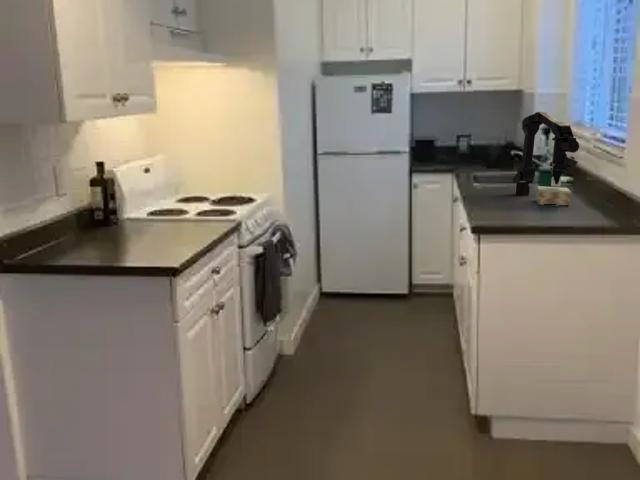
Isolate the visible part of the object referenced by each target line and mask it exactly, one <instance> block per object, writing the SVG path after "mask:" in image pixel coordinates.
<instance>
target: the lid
mask: <svg viewBox="0 0 640 480" xmlns="http://www.w3.org/2000/svg"><path fill="white" fill-rule="evenodd" d="M537 188H538V190H539V191H542V192H559V193H571V190H570V189H569V188H568V187H559V186H539V185H537V187H536V189H537Z"/></svg>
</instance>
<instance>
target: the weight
mask: <svg viewBox="0 0 640 480" xmlns="http://www.w3.org/2000/svg"><path fill="white" fill-rule="evenodd" d="M550 182H551V183H550V185H551V186H550V187H561V186H562V177H560V179H559V182H558V184H555V181H554V177H553V176H552V177H551V181H550ZM561 188H562V187H561Z"/></svg>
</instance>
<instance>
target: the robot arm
mask: <svg viewBox="0 0 640 480" xmlns="http://www.w3.org/2000/svg"><path fill="white" fill-rule="evenodd" d="M541 125H545V126H546V127H547V128H549V129H550V132H551V134H553V136H554V137H552V138H551V140H552V141H553V150H552V158H551V159H552V160H551V161H550V162H549V167H550V168H549V169H550V172H551V176H552V177H554V181H555V184H558V182H559V179H560V177H561V176H562V174H564V173H565V172H566V171H568V166H571V167H572V168H576V166H577V165H578V162H579V161H578V160H577V159H575V158H576V157H574V156H572V155H571V156H568V153H572V154H575V153H577V152H578V150H579V149H580V143H579V142H578V141H577V137H575V135H574V134H573V131H572V127H571V125H570V124H568V123H566V122H561V121H558V120H557V119H555V118H554V117H552V116H551V115H549V114H548V113H547V112H546V111H537V112H534V114H530V115H528V116H525V117H524V118H523V119H522V123H521V126H522V127H521V130H522V132H523V134H524V138H523V139H524V140H523V147H522V149H523V150H522V158H521V159H522V160H521V163H520V164H519V166H518V168H517V172H516V174H515V175H514V176H513V178H512V183H513V184H515V192H514V195H515V196H520V195H521V196H522V195H528V196H529V195H530V190H531V189H530V188H531V186H530V185H531V184H533V182H534V179H535V176H536V167H534V165H533V158H534V157H533V156H534V148H535V140H536V139H535V138H536V135H537V134H538V132H539V130H540V126H541ZM567 165H568V166H567ZM561 178H562V177H561Z"/></svg>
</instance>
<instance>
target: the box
mask: <svg viewBox="0 0 640 480" xmlns="http://www.w3.org/2000/svg"><path fill="white" fill-rule="evenodd" d="M536 200H537V201H536ZM535 201H536V203H537V202H538V203H537V205H544V204H569V205H570V201H571V193H559V192H542V191H539V190H538V188H537V187H536V196H535Z"/></svg>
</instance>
